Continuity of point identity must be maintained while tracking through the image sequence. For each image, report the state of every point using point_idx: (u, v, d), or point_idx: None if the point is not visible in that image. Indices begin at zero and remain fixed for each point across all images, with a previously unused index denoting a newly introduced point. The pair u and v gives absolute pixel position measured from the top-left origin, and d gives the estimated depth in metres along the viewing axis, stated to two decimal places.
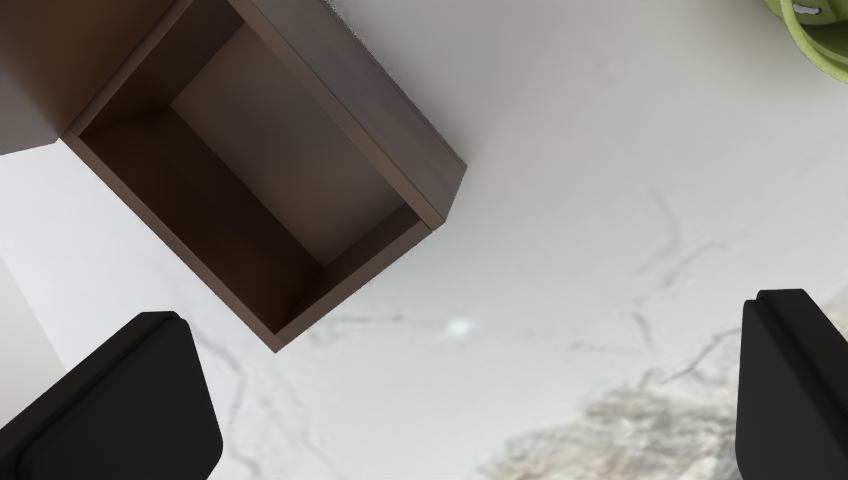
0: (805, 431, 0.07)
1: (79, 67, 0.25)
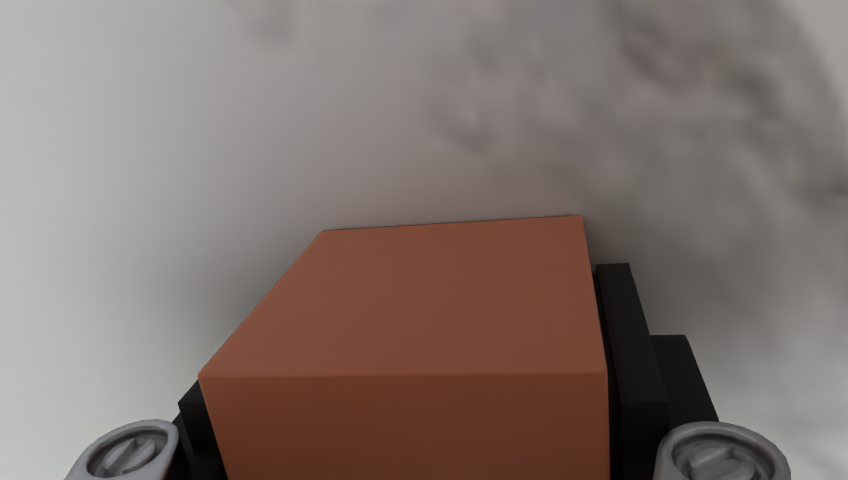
0: None
1: None
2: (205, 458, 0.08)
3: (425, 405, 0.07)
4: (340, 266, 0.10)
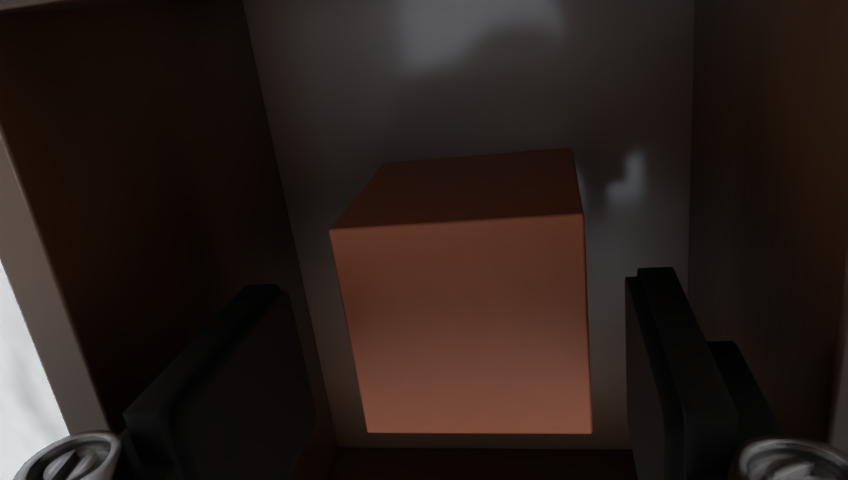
0: (647, 384, 0.08)
1: None
2: (151, 469, 0.08)
3: (473, 243, 0.11)
4: (405, 180, 0.14)
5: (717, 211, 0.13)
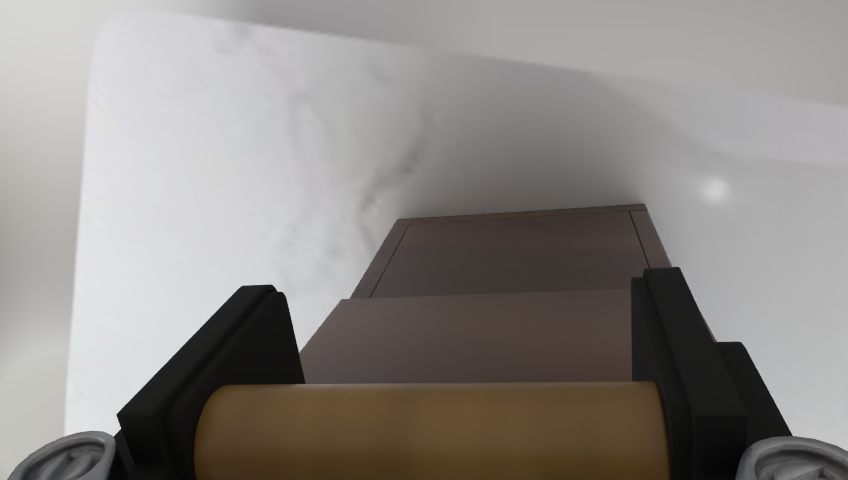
0: None
1: None
2: (145, 470, 0.08)
3: None
4: None
5: None
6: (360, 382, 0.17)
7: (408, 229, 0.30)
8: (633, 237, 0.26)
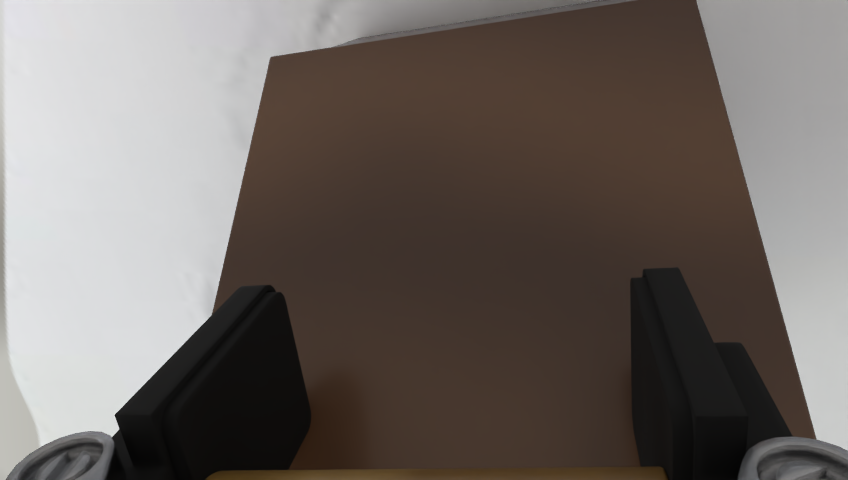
0: (654, 386, 0.08)
1: None
2: (143, 470, 0.08)
3: None
4: None
5: None
6: (324, 221, 0.15)
7: (367, 38, 0.26)
8: (626, 1, 0.22)
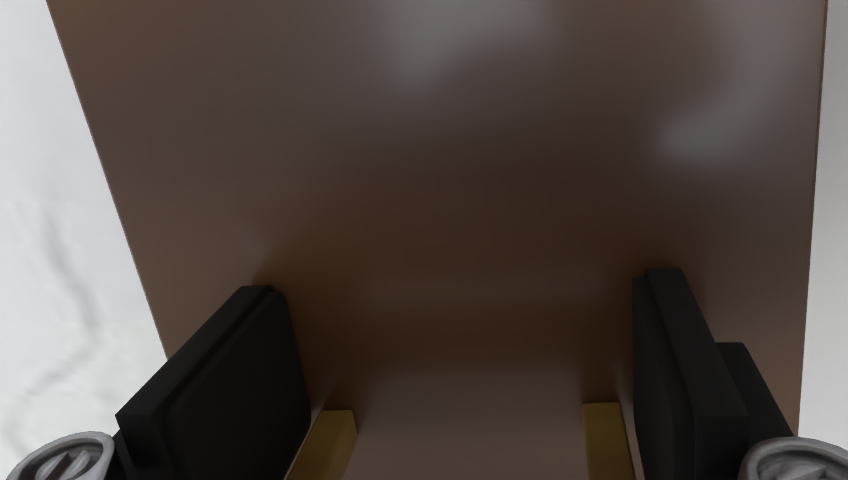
0: (656, 385, 0.08)
1: None
2: (143, 471, 0.08)
3: None
4: None
5: None
6: (203, 65, 0.10)
7: None
8: None
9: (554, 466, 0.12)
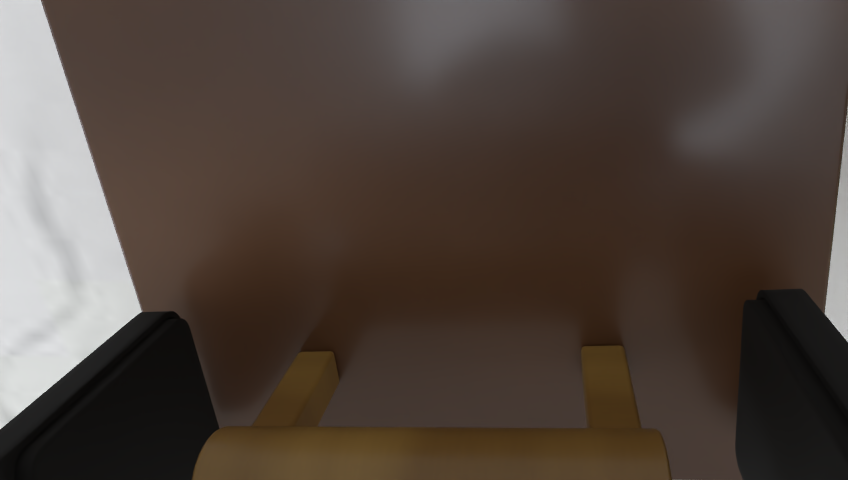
0: (805, 431, 0.07)
1: None
2: None
3: None
4: None
5: None
6: None
7: None
8: None
9: (550, 416, 0.11)
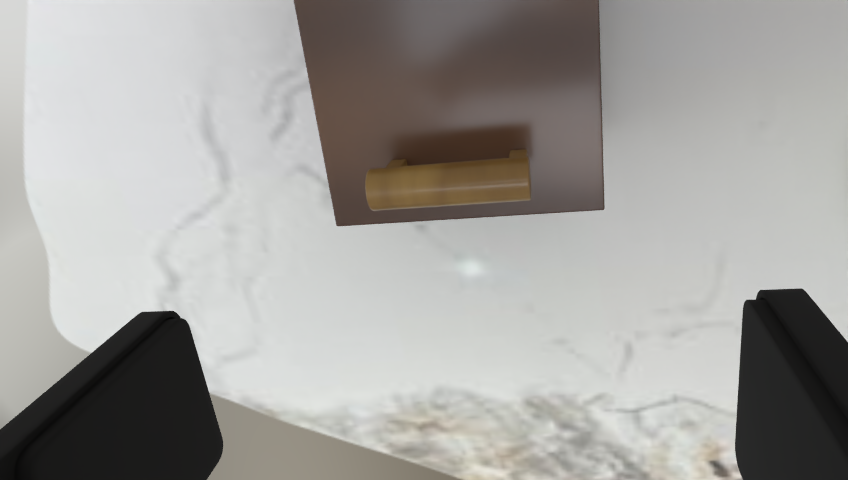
0: (805, 431, 0.07)
1: None
2: None
3: None
4: None
5: None
6: None
7: None
8: None
9: None
